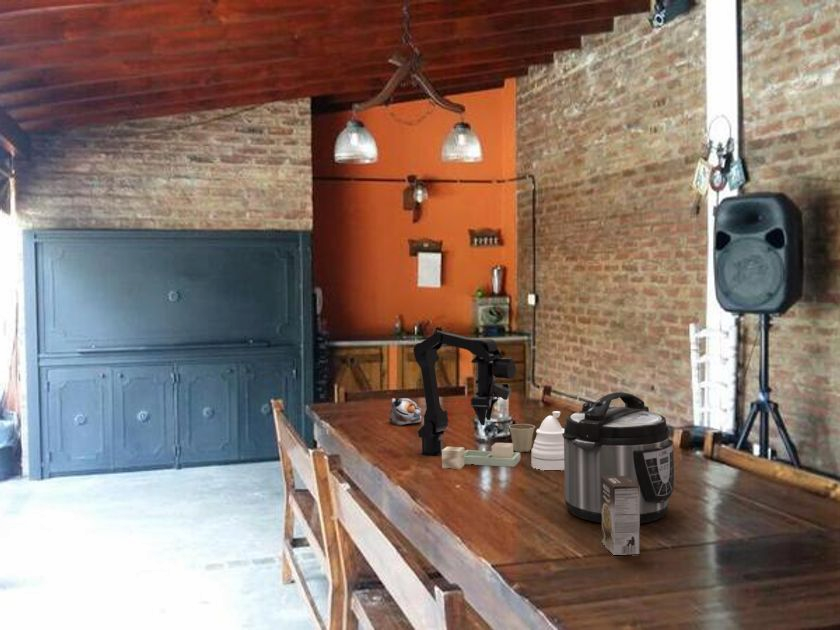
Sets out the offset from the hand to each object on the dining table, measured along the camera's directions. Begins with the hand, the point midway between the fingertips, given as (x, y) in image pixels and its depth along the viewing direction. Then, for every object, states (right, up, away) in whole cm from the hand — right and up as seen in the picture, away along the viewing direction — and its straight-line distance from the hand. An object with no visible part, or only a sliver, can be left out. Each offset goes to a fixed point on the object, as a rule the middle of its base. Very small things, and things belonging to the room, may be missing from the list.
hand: (485, 422), depth 281 cm
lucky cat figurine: (-28, -10, +73) cm, 78 cm away
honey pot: (+21, -13, -8) cm, 26 cm away
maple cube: (-11, -14, -6) cm, 19 cm away
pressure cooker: (+30, -16, -61) cm, 70 cm away
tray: (+1, -13, -1) cm, 13 cm away
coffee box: (+24, -18, -89) cm, 94 cm away
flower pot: (+14, -12, +16) cm, 25 cm away
